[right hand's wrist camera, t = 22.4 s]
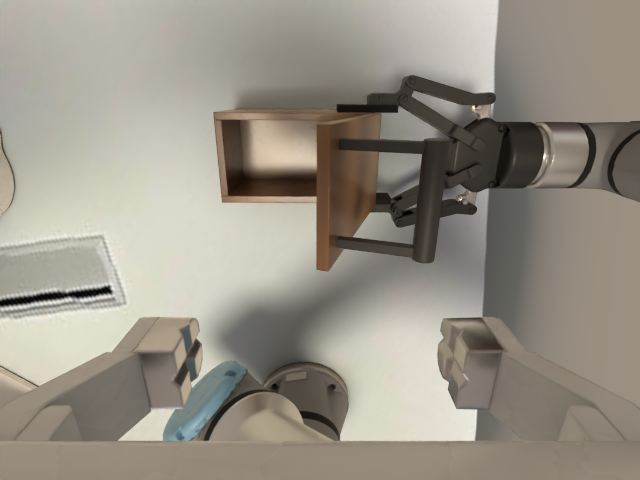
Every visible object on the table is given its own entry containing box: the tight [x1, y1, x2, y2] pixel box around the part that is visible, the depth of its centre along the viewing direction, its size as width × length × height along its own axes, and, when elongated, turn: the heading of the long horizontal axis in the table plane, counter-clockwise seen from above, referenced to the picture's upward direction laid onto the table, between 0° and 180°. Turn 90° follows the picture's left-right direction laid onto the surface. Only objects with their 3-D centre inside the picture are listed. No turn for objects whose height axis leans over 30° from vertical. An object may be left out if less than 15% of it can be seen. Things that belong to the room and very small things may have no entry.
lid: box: [317, 113, 450, 271], centre depth 30 cm, size 18×10×8 cm
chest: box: [214, 109, 374, 203], centre depth 44 cm, size 17×10×10 cm, turn 90°
